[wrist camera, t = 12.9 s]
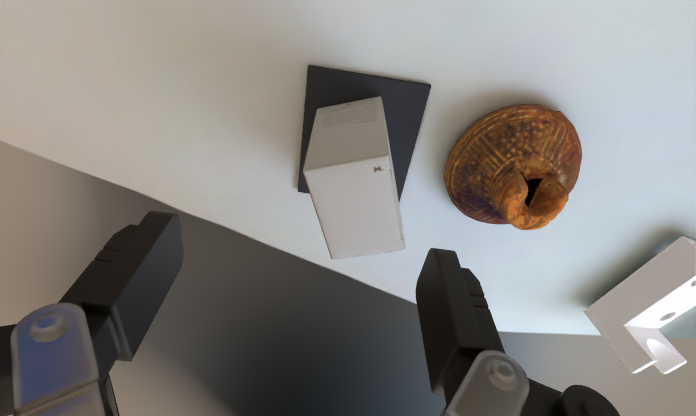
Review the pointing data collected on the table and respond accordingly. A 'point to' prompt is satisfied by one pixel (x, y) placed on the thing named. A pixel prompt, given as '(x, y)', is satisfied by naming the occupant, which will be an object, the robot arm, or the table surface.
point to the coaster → (343, 87)
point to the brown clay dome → (515, 167)
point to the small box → (354, 180)
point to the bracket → (649, 308)
